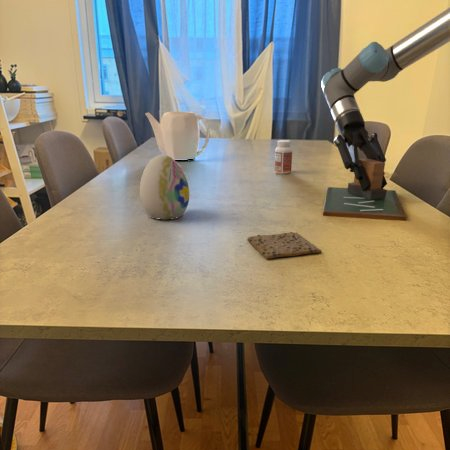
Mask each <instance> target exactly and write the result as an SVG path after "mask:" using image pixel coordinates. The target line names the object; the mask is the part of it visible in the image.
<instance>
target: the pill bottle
mask: <svg viewBox="0 0 450 450" xmlns="http://www.w3.org/2000/svg"><path fill="white" fill-rule="evenodd" d="M291 144H292V142H291V140H290V139H279V140H277V146H276V148H275V149H274V168H273V169H274V173H275V174H277V175H278V174H280V175H284V174H285V175H286V174H291V172H292V165H293V164H292V162H293V148H292V147H291Z"/></svg>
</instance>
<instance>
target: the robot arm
mask: <svg viewBox="0 0 450 450" xmlns="http://www.w3.org/2000/svg"><path fill="white" fill-rule="evenodd" d="M449 43H450V7H448V8H447V9H445V10H443V11H441V12H440V13H439V14H437V15H436V16H434V17H433V18H431V19H430V20H428V21H426V22H425V23H424V24H422V25H421V26H419V27H417V28H416V29H415V30H413V31H412V32H410V33H408V34H407V35H405V36H404V37H403V38H401V39H399V40H398V41H397V42H395V43H393V44H392V45H391V46H389V47H387V48H386V49H385V47H383V45H382V44H380V43H379V42H377V41H372V42H370V43H369V44H368V45H367V46H365V47H364V48H362V49H361V50H360V52H358V54H357V55H356V56H355V57H354V58H352V60H351V61H350V62H348V64H347V65H346V66H345V67H343V69H342V68H340V67H336V68H332V69H331V71H327V72H326V73H325V74H324V75H323V77H322V79H321V82H320V85H321V89H322V94H323V96H324V98H325V100H326V103H327V105H328V107H329V110H330V113H331V116H332V119H333V121H334V124H335V128H336V129H337V133H338V135H336V137H335V138H334V140H333V143H334V145H335V146H336V147H337V149H338V153H339V155H340V158H341V160H342V163H343V165H344V168H345V170H349V172H350V173H353V174H354V177H356V179H357V180H359V183H360V185H361V188H362V191H365V190H366V189H367V188H368V187H369V186H370V183H369V181H368V178H367V176H366V173H365V171H364V168H363V165H360V166H359V159H360V158H359V150H360V152H362V153H363V154H364V156H365V158H368V159H372V160H376V161H380V162H384V163H385V164H386V162H387V158H386V156H385V154H384V151H383V149H382V146H381V144H380V141H379V139H378V133H377V132H374V133H369V131H368V130H367V129H366V126H365V125H366V123H365V122H366V121H365V120H364V117H363V114H362V112H361V109H360V107H359V104H358V102H357V100H356V97H355V94H356V93H358V92H359V91H360V90H361V89H362V88H364V87H365V85H367V84H368V83H370V82H381V83H382V82H383V83H384V82H388V81H391V80H393V79H395V78H396V77H397V76H398V75H399V73H400V72H402V71H403V70H405V69H406V68H408V67H410V66H412V65H413V64H415V63H416V62H418V61H420V60H421V59H423V58H425V57H426V56H428V55H430V54H431V53H434V52H435V51H436V50H438V49H439V48H441V47H443V46H445V45H446V44H449ZM358 149H359V150H358ZM385 175H386V173H385V172H384V173H383V180H382V186H381V188H383V189H385V187H386V186H387V185H388V182H387V179H386V176H385Z"/></svg>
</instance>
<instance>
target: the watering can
mask: <svg viewBox="0 0 450 450" xmlns="http://www.w3.org/2000/svg"><path fill="white" fill-rule="evenodd" d="M144 115H145V116H146V117H147V119H148V121H149V123H150V125H151V128H152V131H153V134H154V138H155V142H156V144H157V147H158V150H159V151H160V152H161V153H163V154H164V155H167V156H170V157H171V158H173V159H194V158H195V159H196V158H197V157H198V156H199V155H201V154H202V153H203V152H204V151H205V150H206V149H207V147H208V145H209V142H210V138H211V137H210V135H211V134H210V127H209V124H208V121H207V119H206V118H205V117H204V116H203V115H201V114H199V113H198V114H196V113H195V112H194V111H188V110H181V111H180V110H179V111H177V110H175V111H166V112H163V114H162V116H161V120H160V123H159V121H158V120H157V119H156V118H155V117H154V115H153V114H151V113H150V111H147V112H144ZM200 120H202V122H203V123H204V125H205V129H206V136H205V140H204V144H203V145H202V147H201V149H199V144H200V135H201V134H200V133H201V131H200V130H201V129H200V124H199V121H200ZM195 159H194V160H195Z"/></svg>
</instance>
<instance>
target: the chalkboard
mask: <svg viewBox="0 0 450 450" xmlns="http://www.w3.org/2000/svg"><path fill="white" fill-rule="evenodd" d="M347 190H348V187H334V186H333V187H331V186H330V187H329V186H327V187H326V193H325V199H324V203H323V210H322V216H327V217H343V218H357V219H375V220H390V221H407V215H406V212H405V210H404V207H403V205H402V203H401V201H400V198H399V195H398V193H397V192H396V190H395V189H393V190H392V189H386V190H387V191H386V197H385V199H378V200H368V199H366V198H363V197H360V196H358V195H355V194H352V193H350V192H347Z"/></svg>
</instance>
